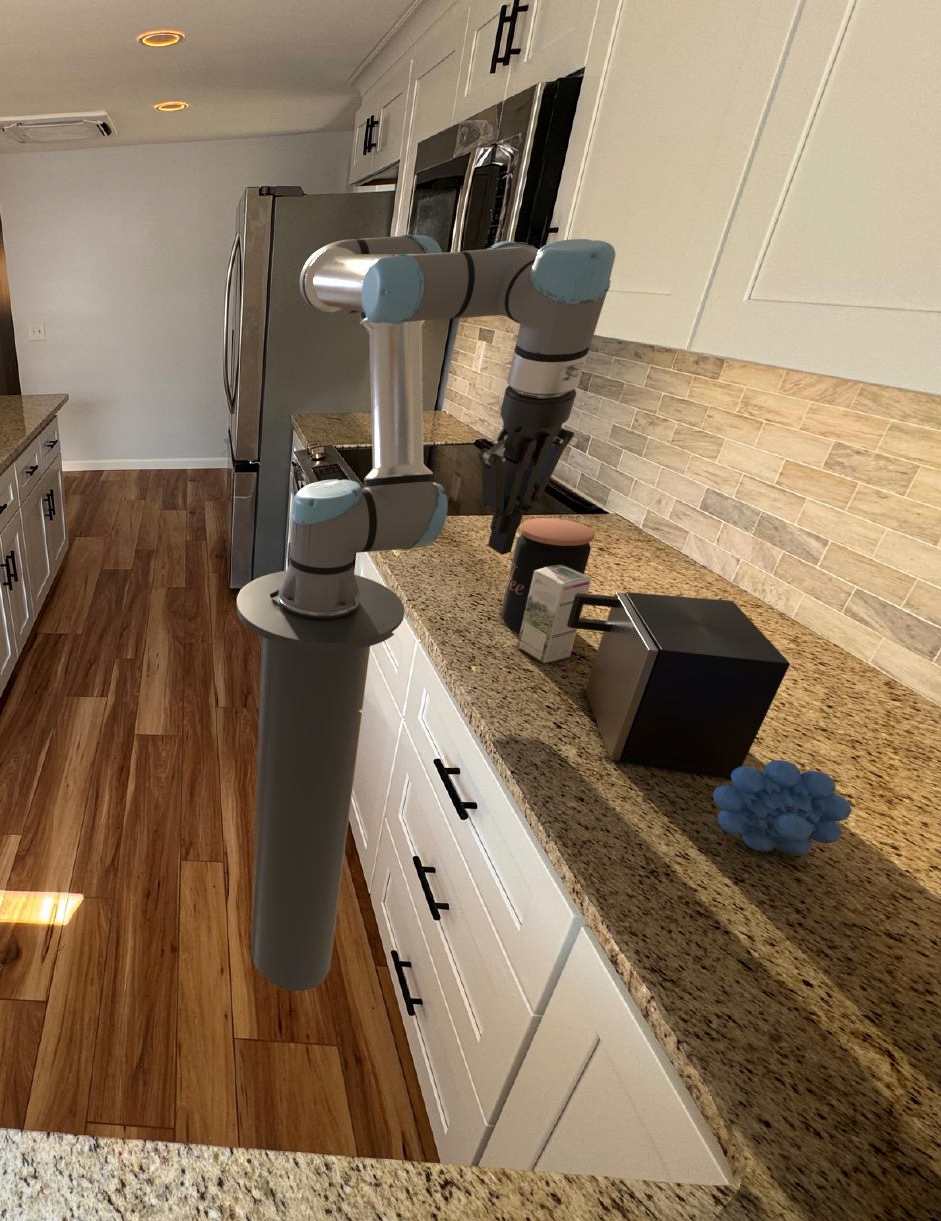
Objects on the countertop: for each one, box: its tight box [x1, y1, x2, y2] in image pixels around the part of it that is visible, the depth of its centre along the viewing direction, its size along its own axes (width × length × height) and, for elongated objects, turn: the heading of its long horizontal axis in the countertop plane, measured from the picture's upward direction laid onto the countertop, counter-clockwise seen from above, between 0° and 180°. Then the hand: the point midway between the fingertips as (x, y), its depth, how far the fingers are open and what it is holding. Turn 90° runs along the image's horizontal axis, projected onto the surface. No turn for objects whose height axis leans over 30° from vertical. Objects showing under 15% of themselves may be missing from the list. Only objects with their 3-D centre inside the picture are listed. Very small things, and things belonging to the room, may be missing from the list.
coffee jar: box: [500, 517, 596, 634], centre depth 115 cm, size 11×11×18 cm
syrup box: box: [516, 565, 592, 664], centre depth 107 cm, size 6×6×14 cm
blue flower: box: [712, 759, 852, 856], centre depth 70 cm, size 12×7×12 cm, turn 72°
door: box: [567, 591, 658, 762], centre depth 90 cm, size 6×16×17 cm, turn 159°
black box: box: [620, 591, 791, 780], centre depth 87 cm, size 12×16×17 cm
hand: (499, 548), depth 95 cm, fingers closed
